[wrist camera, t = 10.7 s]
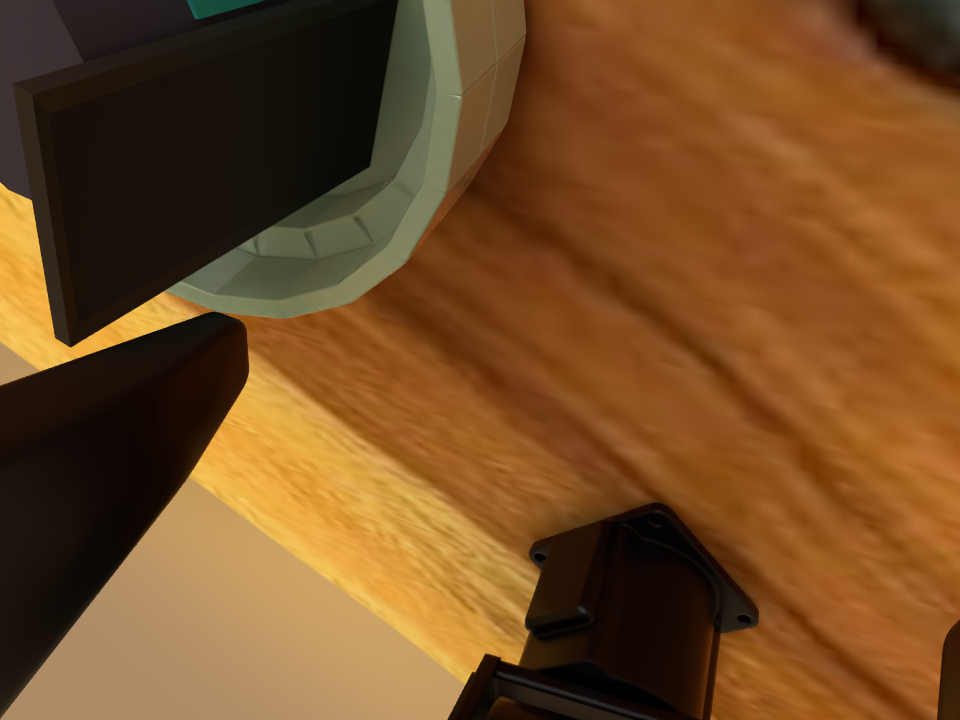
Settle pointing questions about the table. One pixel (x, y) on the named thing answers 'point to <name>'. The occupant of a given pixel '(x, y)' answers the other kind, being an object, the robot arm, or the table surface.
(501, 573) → the table surface
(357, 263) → the bowl
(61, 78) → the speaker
